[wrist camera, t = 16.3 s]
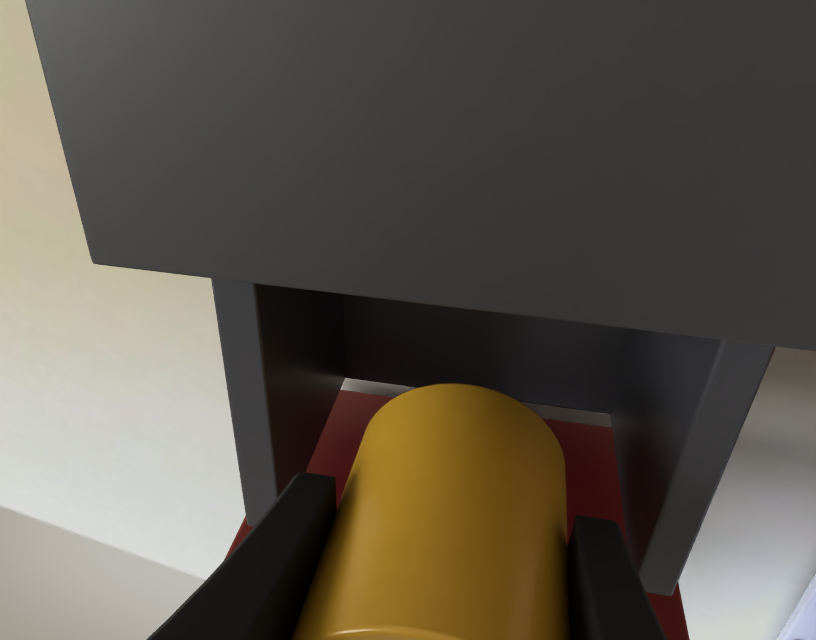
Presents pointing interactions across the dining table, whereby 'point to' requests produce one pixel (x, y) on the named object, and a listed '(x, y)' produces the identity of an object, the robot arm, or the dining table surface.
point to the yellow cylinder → (447, 526)
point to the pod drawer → (504, 372)
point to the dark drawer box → (456, 152)
